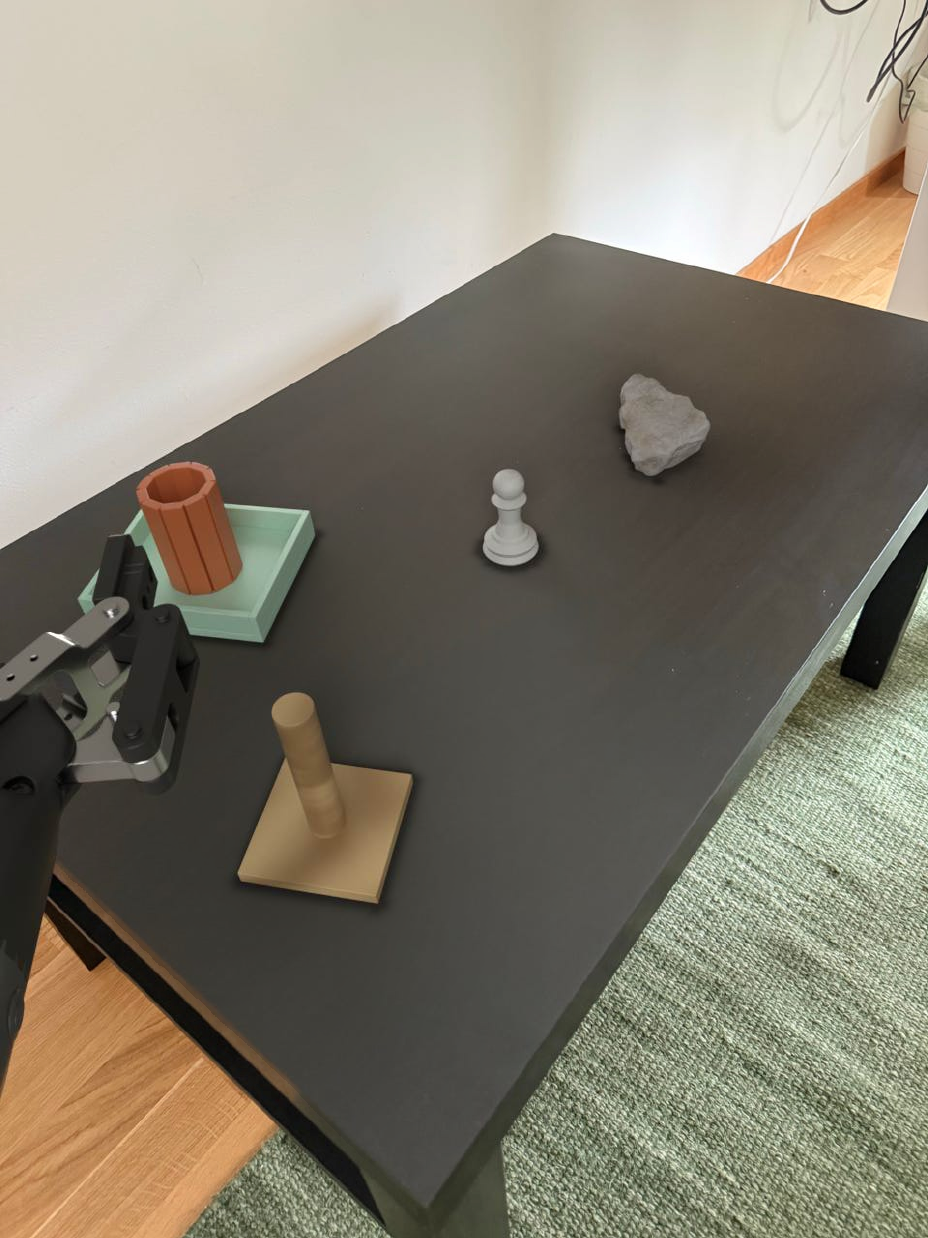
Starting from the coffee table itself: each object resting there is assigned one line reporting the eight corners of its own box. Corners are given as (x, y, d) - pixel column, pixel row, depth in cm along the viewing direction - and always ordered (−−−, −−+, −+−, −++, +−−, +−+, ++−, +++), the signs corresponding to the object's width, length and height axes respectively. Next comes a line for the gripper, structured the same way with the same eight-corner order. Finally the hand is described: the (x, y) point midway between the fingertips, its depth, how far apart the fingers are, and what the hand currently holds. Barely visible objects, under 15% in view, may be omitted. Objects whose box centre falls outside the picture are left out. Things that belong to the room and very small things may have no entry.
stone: (585, 436, 90) (587, 382, 86) (655, 411, 92) (660, 358, 88) (643, 489, 83) (648, 434, 79) (716, 461, 86) (725, 407, 82)
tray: (89, 623, 76) (77, 599, 74) (158, 521, 85) (148, 497, 83) (263, 643, 73) (255, 618, 71) (315, 535, 82) (310, 510, 80)
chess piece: (502, 575, 77) (498, 498, 71) (472, 544, 80) (467, 468, 74) (549, 553, 78) (549, 476, 73) (518, 524, 81) (516, 448, 75)
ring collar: (157, 592, 77) (122, 506, 70) (188, 543, 81) (157, 458, 75) (224, 599, 76) (195, 512, 69) (252, 550, 80) (226, 464, 73)
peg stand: (240, 881, 58) (185, 763, 49) (288, 765, 64) (246, 642, 56) (377, 904, 57) (346, 786, 48) (413, 782, 63) (391, 658, 54)
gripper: (95, 881, 21) (175, 459, 32) (-560, 966, 20) (-242, 508, 32) (188, 1015, 26) (228, 612, 37) (-330, 1086, 26) (-129, 656, 37)
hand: (12, 565), depth 35 cm, fingers open, 8 cm apart
